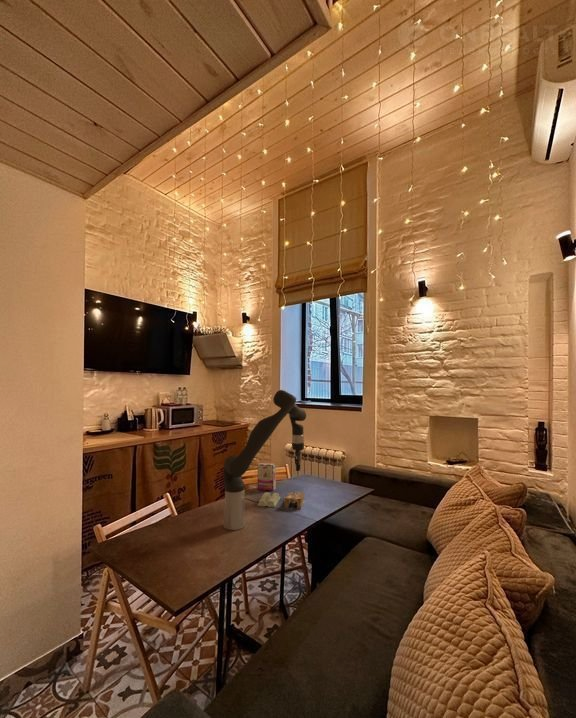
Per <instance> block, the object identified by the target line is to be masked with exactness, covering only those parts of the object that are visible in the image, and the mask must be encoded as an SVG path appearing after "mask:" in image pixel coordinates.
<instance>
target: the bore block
mask: <svg viewBox="0 0 576 718" xmlns="http://www.w3.org/2000/svg"><path fill="white" fill-rule="evenodd" d="M300 493H301V494H300V496H293V495H294V494H293V492H288V494H287V495H284V498H283V503H284V504H283V509H286V508H287V509H289V507H290V506H291V504H290V502H291V500H296V501H297V506H296V510H302V508H301V507H303V505H304V502H305V492H300Z"/></svg>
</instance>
